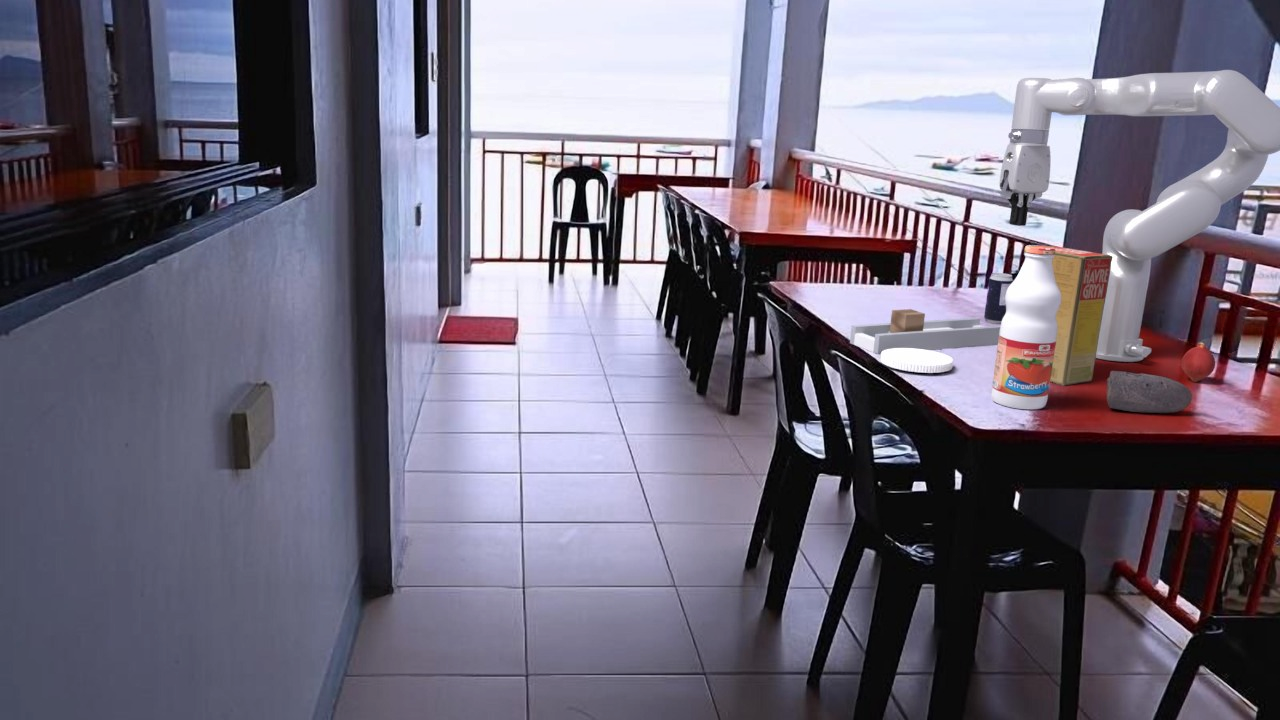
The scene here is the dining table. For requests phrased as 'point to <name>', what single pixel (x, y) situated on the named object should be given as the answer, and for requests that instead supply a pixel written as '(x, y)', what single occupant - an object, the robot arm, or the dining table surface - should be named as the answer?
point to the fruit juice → (1028, 333)
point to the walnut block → (906, 321)
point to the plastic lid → (916, 360)
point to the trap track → (926, 335)
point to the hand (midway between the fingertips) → (1017, 224)
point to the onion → (1198, 362)
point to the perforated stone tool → (1146, 393)
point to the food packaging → (1078, 312)
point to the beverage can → (997, 297)
